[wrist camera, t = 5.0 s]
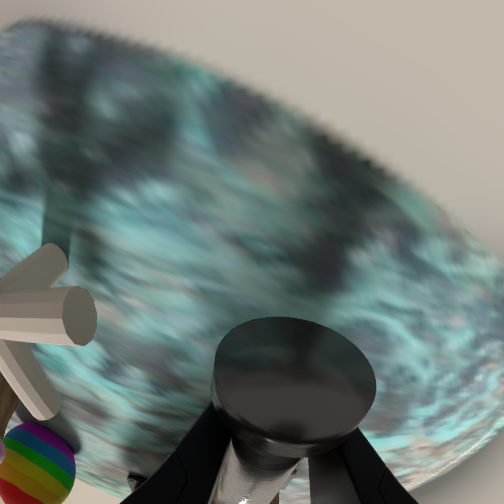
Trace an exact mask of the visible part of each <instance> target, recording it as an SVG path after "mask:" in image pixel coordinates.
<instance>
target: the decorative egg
mask: <svg viewBox="0 0 504 504" xmlns="http://www.w3.org/2000/svg"><path fill="white" fill-rule="evenodd" d="M2 440H3V442H4V445H5V447H6V456H5V458H4V460H3V462H2V463H1V464H0V495H1V498H2V499H3V501H4V503H5V504H62V503H63V501H64V500H65V499H66V498H67V497H68V495H69V493H70V492H71V489H72V487H73V484H74V480H75V474H76V466H75V460H74V456H73V452H72V450H71V449H70V447H69V446H68V445H67V444H66V443H65V442H64V441H63V440H62V439H61V438H59V437H58V436H57V435H56V434H54V433H53V432H51V431H50V430H48V429H46V428H45V427H43V426H40V425H38V424H35V423H24V424H21V425H18V426H16V427H14V428H13V429H11V430H10V431H9V432H8V433H7V434H6V435H5V437H4V438H3V439H2Z"/></svg>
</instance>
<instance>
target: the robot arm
mask: <svg viewBox="0 0 504 504" xmlns="http://www.w3.org/2000/svg"><path fill="white" fill-rule="evenodd" d="M232 434H233V433H232V432H231V431H230V430H229V429H228V428H227V427H226V426H225V424H224V423H223V422H222V420H221V419H220V417H219V416H218V414H217V412H216V410H215V407H214V405H213V401H212V400H211V402H210V403H209V404H208V406H207V407H206V408H205V410H204V411H203V412H202V414H201V415H200V416H199V418H198V419H197V420H196V422H195V423H194V424H193V426H192V427H191V428H190V430H189V431H188V432H187V434H186V435H185V436H184V437H183V439H182V440H181V441H180V443H179V444H178V445H177V447H176V448H175V449H174V451H172V453H171V454H170V455H169V456H168V458H167V459H166V460H165V461H164V462H163V464H162V465H161V466H160V467H159V468H158V469H157V470H156V471H155V472H154V473H153V474H152V475H151V476H150V477H149V478H148V479H147V480H145V479H142V478H138V477H135V476H131V475H128V477H127V481H128V483H129V486H130V488H131V490H132V493H131V494H130V495H129V496H128V497H127V498H126V499H124V500H123V501H122V502H121V503H120V504H212V501H213V498H214V494H215V491H216V488H217V485H218V482H219V479H220V475H221V472H222V469H223V466H224V463H225V459H226V456H227V453H228V450H229V446H230V442H231V438H232ZM308 465H309V480H310V497H311V504H419V503H418V502H417V501H416V500H415V499H414V498H413V497H412V496H411V495H410V494H409V493H408V492H407V491H406V490H405V488H404V487H403V486H402V485H401V484H400V483H399V481H398V480H397V479H396V478H395V476H394V475H393V474H392V472H391V471H390V470H389V468H388V467H386V465H385V463H384V462H383V460H382V459H381V458H380V456H379V455H378V454H377V452H376V451H375V450H374V448H373V447H372V446H371V444H370V443H369V441H368V440H367V439H366V437H365V436H364V435H363V433H362V432H361V431H360V429H359V428H358V427H357V428H356V429H355V431H354V432H353V434H352V435H351V436H350V437H349V438H348V439H347V440H346V441H345V442H344V443H343V444H341V445H340V446H338V447H337V448H335V449H333V450H331V451H329V452H326V453H324V454H320V455H316V456H312V457H308Z"/></svg>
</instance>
